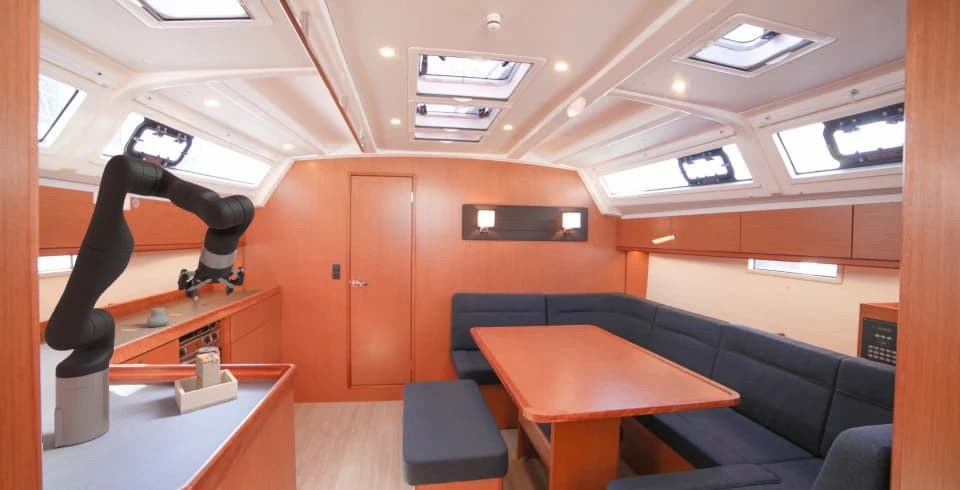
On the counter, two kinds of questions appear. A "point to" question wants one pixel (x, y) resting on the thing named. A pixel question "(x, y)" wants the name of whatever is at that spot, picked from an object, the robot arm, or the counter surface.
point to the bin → (205, 393)
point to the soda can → (207, 350)
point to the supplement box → (207, 370)
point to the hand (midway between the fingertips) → (209, 294)
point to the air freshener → (158, 317)
